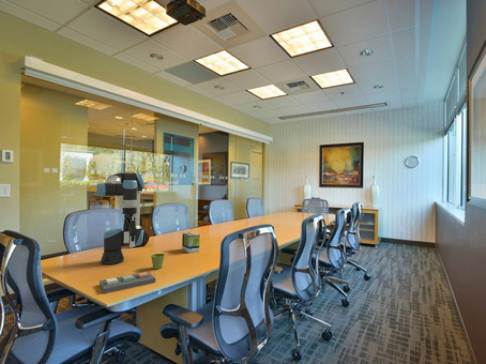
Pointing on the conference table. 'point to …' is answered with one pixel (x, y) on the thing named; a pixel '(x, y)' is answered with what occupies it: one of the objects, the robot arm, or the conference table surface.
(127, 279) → the sage button
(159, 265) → the plant pot
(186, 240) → the tea box
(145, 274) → the terracotta button
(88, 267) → the conference table surface
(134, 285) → the button board
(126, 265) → the conference table surface
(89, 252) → the conference table surface
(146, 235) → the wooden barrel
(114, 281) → the cream button
